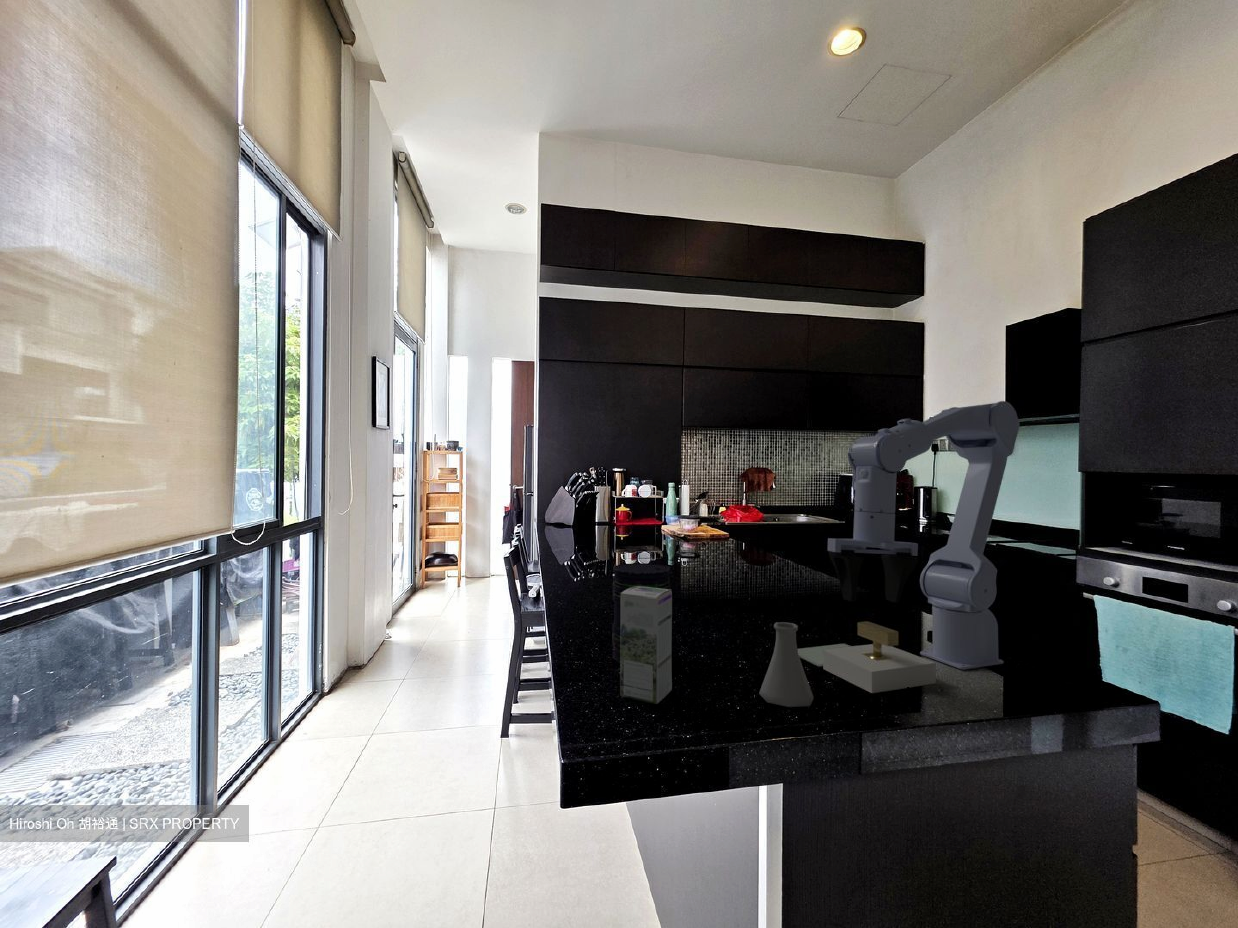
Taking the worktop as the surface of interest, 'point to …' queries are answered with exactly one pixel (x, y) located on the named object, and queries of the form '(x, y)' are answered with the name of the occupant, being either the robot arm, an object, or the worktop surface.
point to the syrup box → (645, 643)
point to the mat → (817, 653)
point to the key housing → (879, 668)
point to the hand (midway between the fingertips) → (871, 601)
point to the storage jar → (629, 578)
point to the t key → (878, 637)
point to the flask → (786, 671)
